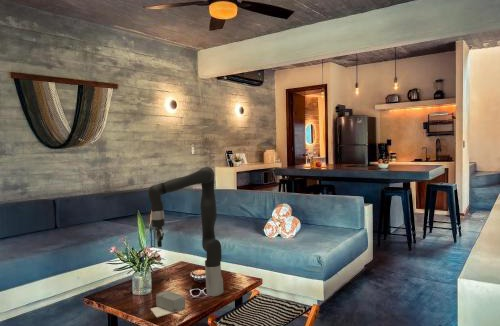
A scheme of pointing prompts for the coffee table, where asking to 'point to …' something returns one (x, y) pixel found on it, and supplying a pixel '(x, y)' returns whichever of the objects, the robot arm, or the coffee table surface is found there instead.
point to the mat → (161, 311)
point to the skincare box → (170, 301)
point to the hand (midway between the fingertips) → (159, 246)
